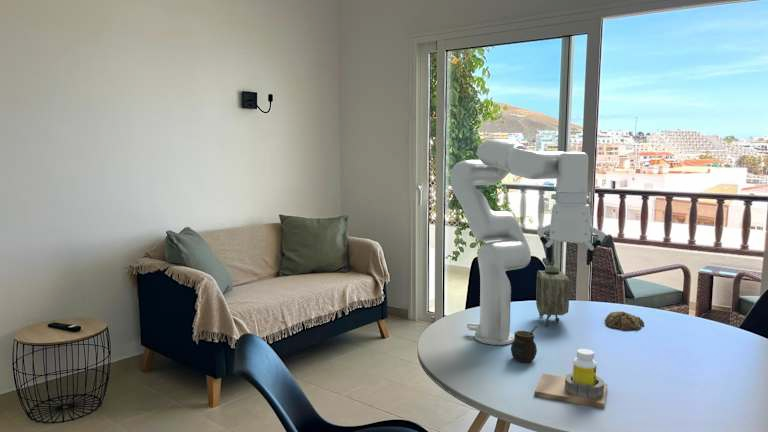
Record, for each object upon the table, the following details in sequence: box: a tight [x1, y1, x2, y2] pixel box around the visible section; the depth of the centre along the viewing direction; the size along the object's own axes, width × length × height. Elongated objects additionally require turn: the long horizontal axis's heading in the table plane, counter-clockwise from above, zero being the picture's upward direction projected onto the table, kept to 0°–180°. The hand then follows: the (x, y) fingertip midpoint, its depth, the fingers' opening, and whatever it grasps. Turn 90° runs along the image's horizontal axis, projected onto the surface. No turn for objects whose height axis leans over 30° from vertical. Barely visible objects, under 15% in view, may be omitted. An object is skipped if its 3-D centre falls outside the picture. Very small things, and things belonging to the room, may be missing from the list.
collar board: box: [534, 372, 608, 409], centre depth 137 cm, size 16×12×4 cm
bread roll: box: [604, 311, 645, 332], centre depth 190 cm, size 13×12×5 cm
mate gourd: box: [510, 325, 538, 363], centre depth 158 cm, size 7×8×10 cm
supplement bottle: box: [572, 348, 597, 386], centre depth 135 cm, size 5×5×10 cm
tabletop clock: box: [535, 252, 570, 327], centre depth 193 cm, size 14×9×25 cm, turn 172°
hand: (569, 262), depth 147 cm, fingers open, 9 cm apart
